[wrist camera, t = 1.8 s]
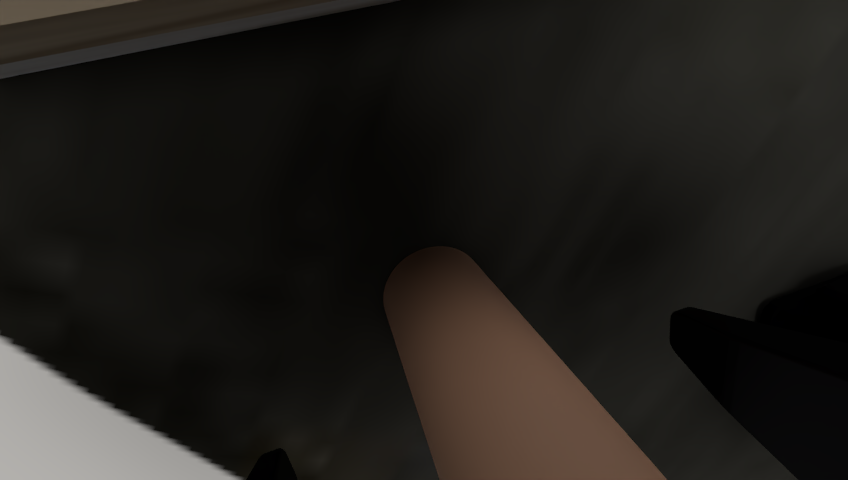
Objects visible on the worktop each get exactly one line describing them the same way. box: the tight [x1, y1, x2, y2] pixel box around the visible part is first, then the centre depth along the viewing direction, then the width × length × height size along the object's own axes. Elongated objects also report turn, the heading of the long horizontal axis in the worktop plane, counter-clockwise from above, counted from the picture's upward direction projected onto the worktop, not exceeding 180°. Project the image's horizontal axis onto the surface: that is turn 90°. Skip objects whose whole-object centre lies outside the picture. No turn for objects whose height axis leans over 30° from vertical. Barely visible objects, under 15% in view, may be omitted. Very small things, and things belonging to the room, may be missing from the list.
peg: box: [383, 246, 667, 480], centre depth 9 cm, size 3×3×9 cm
